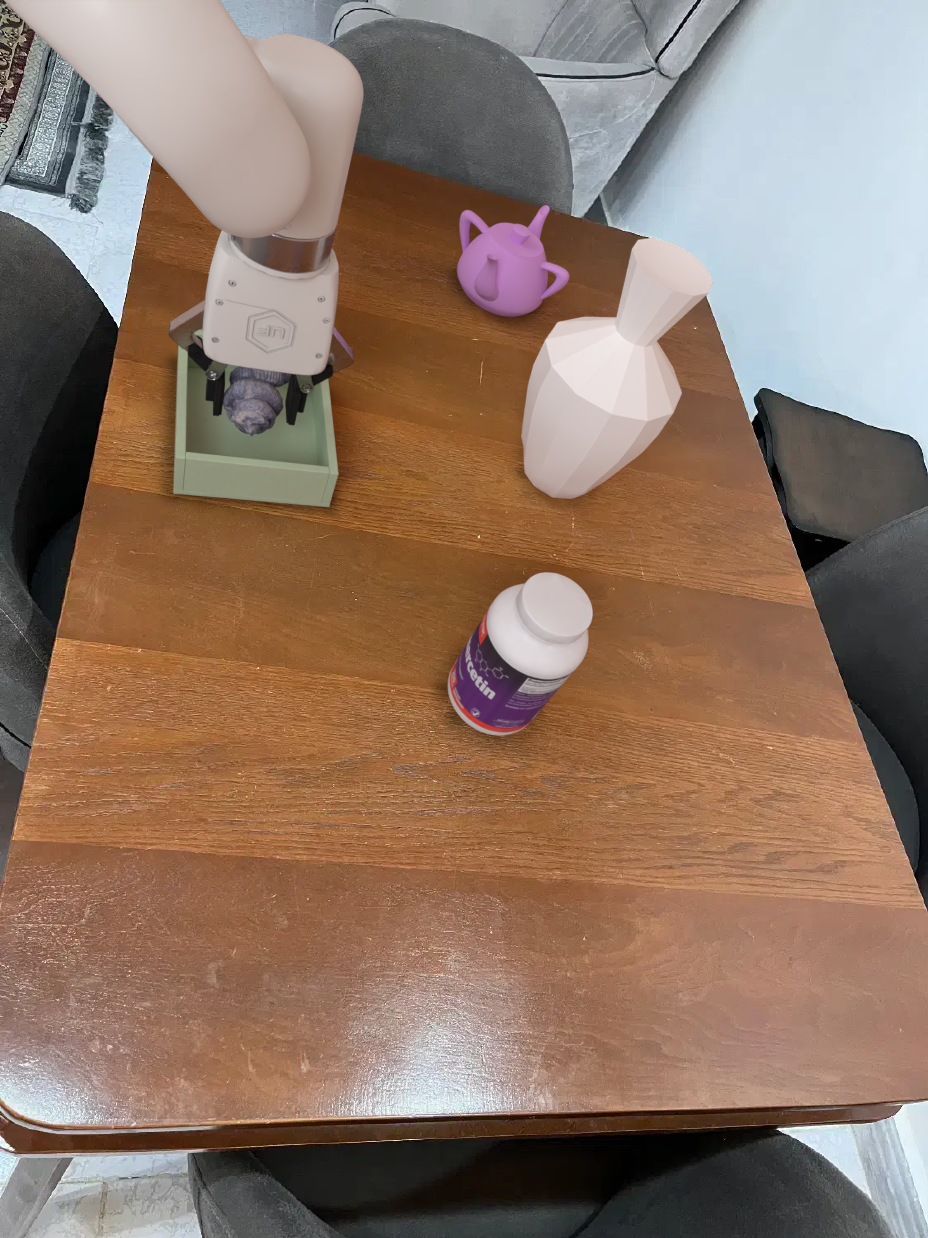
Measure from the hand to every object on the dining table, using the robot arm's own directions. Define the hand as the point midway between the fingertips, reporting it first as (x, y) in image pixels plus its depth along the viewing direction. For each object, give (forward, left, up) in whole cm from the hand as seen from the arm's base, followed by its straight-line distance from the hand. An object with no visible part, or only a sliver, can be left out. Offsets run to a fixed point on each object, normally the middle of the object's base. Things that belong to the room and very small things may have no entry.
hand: (254, 408), depth 77 cm
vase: (+32, 0, -3) cm, 32 cm away
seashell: (0, 0, -1) cm, 1 cm away
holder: (0, 0, -3) cm, 3 cm away
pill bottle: (+19, -28, -3) cm, 34 cm away
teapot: (+31, +30, -3) cm, 43 cm away
